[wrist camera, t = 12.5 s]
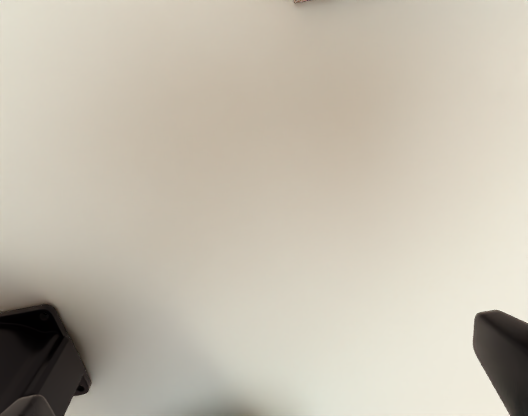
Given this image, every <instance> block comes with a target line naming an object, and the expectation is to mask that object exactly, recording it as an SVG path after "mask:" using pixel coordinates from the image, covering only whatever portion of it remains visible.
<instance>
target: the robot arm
mask: <svg viewBox="0 0 528 416" xmlns="http://www.w3.org/2000/svg"><path fill="white" fill-rule="evenodd" d="M43 313H46V314H47V315H48V316H46V315H44V314H43ZM473 348H474V351H475V354H476V356H477V358H478V359H479V361H480V363H481V365H482V367H483V368H484V370H485V372H486V374H487V375H488V377H489V379H490V381H491V382H492V384H493V386H494V388H495V389H496V391H497V393H498V395H499V397H500V398H501V400H502V402H503V404H504V405H505V407H506V409H507V411H508V412H509V414H510V416H528V323H526V322H524V321H522V320H519V319H517V318H515V317H513V316H511V315H508V314H506V313H504V312H502V311H499V310H491V311H485V312H480V313H478V314H476V316H475V319H474V333H473ZM81 385H82V386H81ZM90 386H91V381H90V379H89V377H88V375H87V373H86V371H85V367H84V365H83V363H82V361H81V358H80V356H79V354H78V352H77V350H76V348H75V346H74V344H73V342H72V340H71V338H70V337H69V336H68V334H67V332H66V330H65V328H64V326H63V323H62V321H61V319H60V317H59V315H58V313H57V311H56V310H55V308H54V307H52V306H50V305H39V306H34V307H29V308H23V309H18V310H12V311H7V312H2V313H0V416H64V414H65V412H66V410H67V408H68V406H69V404H70V401H71V399H72V397H73V396H77V395H82V394H85V393H87V392H88V391H89V388H90Z"/></svg>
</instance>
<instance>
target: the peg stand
mask: <svg viewBox="0 0 528 416" xmlns="http://www.w3.org/2000/svg"><path fill="white" fill-rule="evenodd" d="M304 1H310V0H294V3H299V2H304Z"/></svg>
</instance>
